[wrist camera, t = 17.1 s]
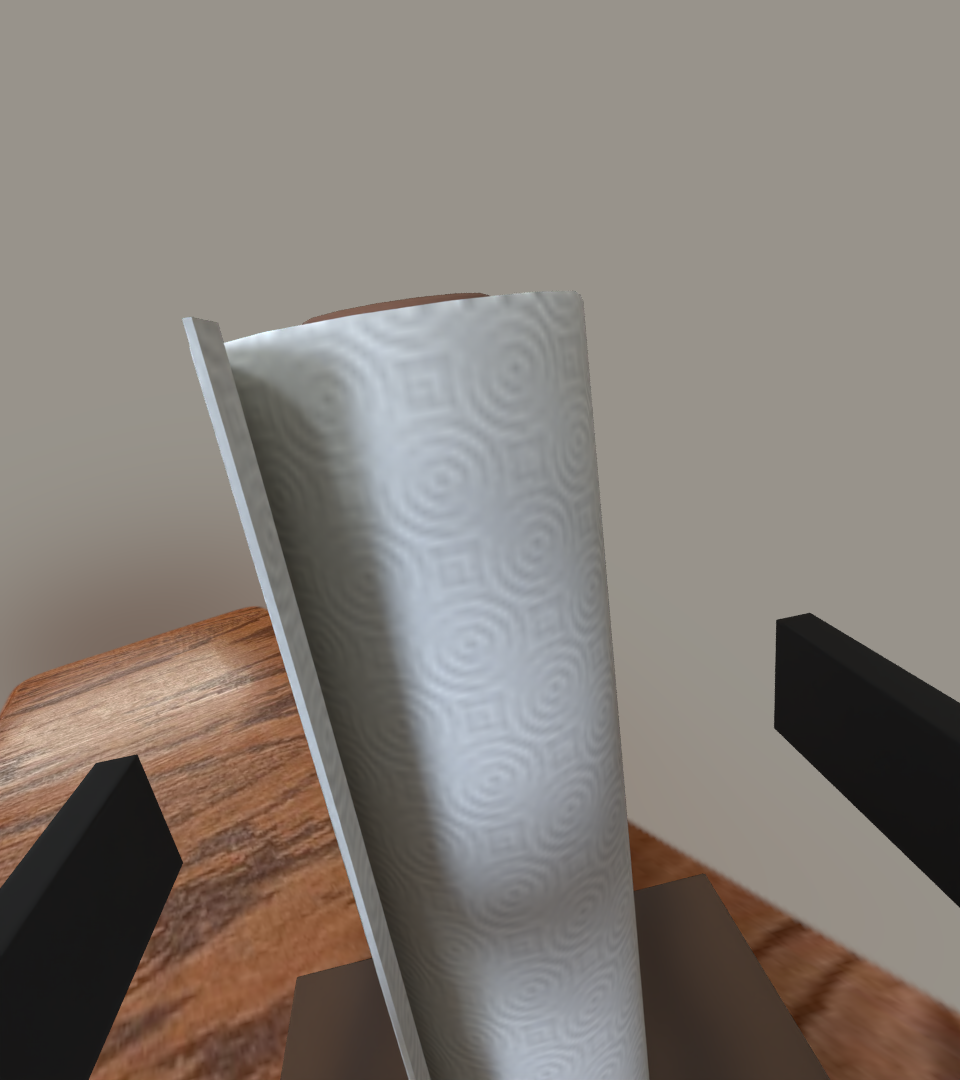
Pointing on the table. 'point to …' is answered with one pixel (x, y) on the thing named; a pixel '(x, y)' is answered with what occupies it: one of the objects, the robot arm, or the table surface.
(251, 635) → the table surface
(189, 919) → the table surface
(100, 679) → the table surface
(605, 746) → the paper towel roll
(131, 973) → the robot arm
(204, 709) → the table surface
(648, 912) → the drawer box
